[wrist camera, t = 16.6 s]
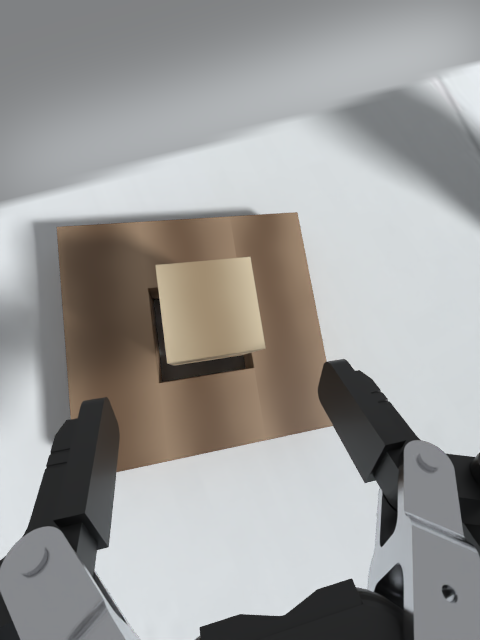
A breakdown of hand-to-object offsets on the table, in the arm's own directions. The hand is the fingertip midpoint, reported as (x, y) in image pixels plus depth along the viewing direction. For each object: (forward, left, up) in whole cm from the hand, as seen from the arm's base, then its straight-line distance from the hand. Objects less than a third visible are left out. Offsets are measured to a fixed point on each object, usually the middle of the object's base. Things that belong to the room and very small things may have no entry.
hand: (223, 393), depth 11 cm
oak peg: (0, -3, -11) cm, 11 cm away
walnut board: (0, -4, -11) cm, 11 cm away
